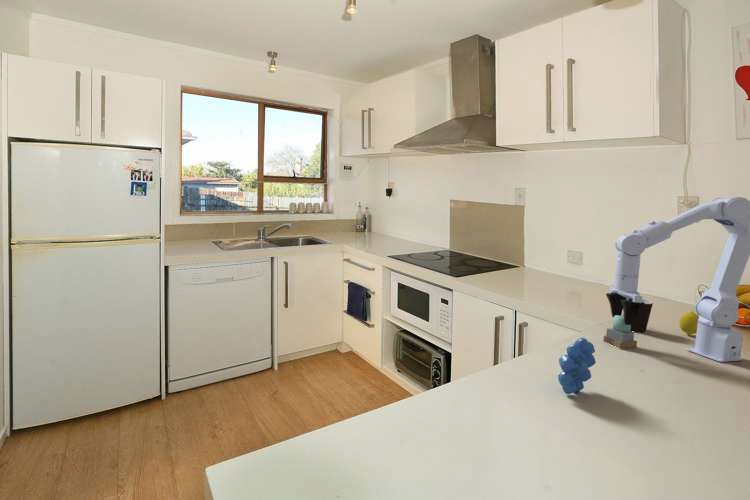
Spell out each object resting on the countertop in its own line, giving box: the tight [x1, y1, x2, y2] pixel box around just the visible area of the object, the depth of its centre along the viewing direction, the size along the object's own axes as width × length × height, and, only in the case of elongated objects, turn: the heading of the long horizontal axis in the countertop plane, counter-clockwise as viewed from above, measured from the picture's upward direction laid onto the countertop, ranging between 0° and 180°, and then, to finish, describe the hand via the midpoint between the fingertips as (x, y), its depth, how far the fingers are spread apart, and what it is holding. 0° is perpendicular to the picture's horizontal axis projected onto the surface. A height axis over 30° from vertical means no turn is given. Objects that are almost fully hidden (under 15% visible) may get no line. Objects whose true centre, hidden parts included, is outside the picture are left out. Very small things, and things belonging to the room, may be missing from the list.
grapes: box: [557, 337, 596, 395], centre depth 88 cm, size 12×7×12 cm, turn 123°
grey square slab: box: [605, 327, 635, 342], centre depth 119 cm, size 5×5×2 cm
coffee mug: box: [622, 298, 654, 334], centre depth 135 cm, size 12×9×10 cm
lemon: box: [678, 310, 699, 336], centre depth 130 cm, size 6×6×8 cm
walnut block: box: [602, 335, 638, 349], centre depth 119 cm, size 6×6×2 cm
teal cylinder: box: [612, 314, 631, 333], centre depth 118 cm, size 4×4×4 cm
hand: (622, 320), depth 118 cm, fingers open, 7 cm apart
